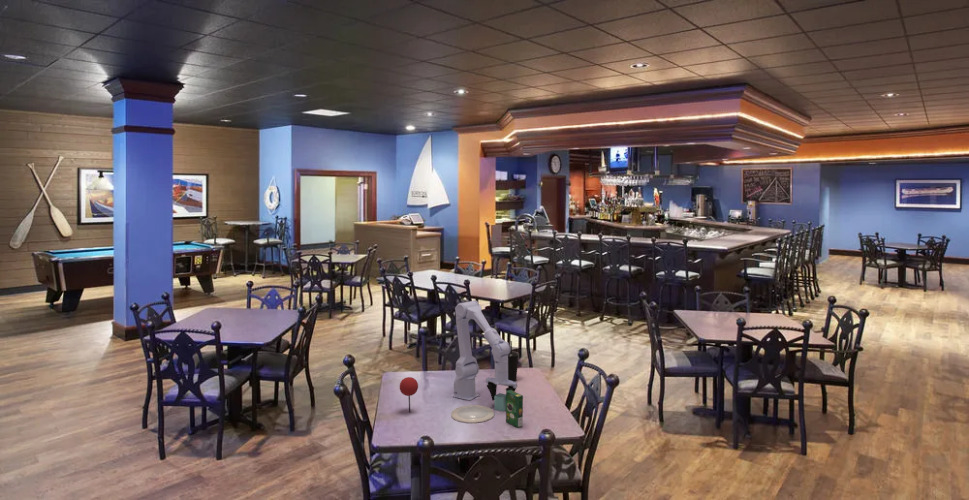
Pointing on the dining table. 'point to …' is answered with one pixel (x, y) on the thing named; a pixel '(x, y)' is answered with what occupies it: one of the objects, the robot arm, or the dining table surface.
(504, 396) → the teal block
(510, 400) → the coffee box
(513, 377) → the drinking cup
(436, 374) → the dining table surface
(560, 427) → the dining table surface
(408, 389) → the lollipop
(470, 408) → the serving plate
